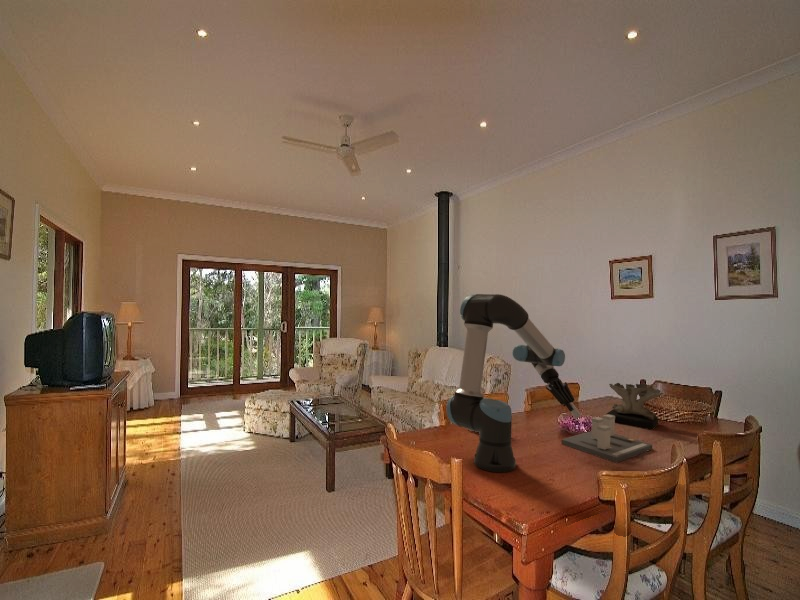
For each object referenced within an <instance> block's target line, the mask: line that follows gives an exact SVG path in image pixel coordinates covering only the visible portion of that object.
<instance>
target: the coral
mask: <svg viewBox="0 0 800 600" xmlns="http://www.w3.org/2000/svg"><path fill="white" fill-rule="evenodd" d="M609 387H610V389H611V390H612V391H614V392H615V393H616V394H617V395H618V396H619V397H620V398H621V399H622V400H621V404H617V403H615V404H613V405H612V409H611V410H610V411H609V412H607V413H606V414H605V415H607V414H609V415H614V416H615V424H619V425H622V426H623V425H624V426H631V427H635V428H639V427H641V428H640V429H645V428H648V429H647V430H650V429H653V428H654V427H655V426H656V425H657V424H658V425H659V417H658V416H657V413H654V412H653V411H651V410H650V409H649V408H648V407H644V404H645V403H646V402H647V401H650V400H652V399H655V398H658V397H661V396H662V395H664V393H663V392H661V389H659V388H657V389H655V388H653V386H652V385H650V386H647V384H646V383H639V384H638V383H636V384H634V385H633V384H631V383H630V384H628V383H626V384H625V386H624V384H621V383H620V382H617V383H614V384H613V383H609ZM638 396H639V398H638ZM658 425H657V426H658ZM657 426H656V427H657ZM656 427H655V428H656ZM655 428H654V429H655ZM654 429H653V430H654Z"/></svg>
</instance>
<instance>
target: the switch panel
mask: <svg viewBox="0 0 800 600" xmlns="http://www.w3.org/2000/svg"><path fill="white" fill-rule="evenodd" d="M560 442H561V445H564V446H566V447H569V448H571V449H576V450H579V451H580V452H583V453H586V452H588V453H587V454H589V453H591V454H590V455H592V454H594V455H593V456H595V455H597V456H596V457H598V456H600V457H599V458H601V457H602V459H604V458H605V459H604V460H607V459H608V460H607V461H610V460H611V461H610V462H613V461H614V462H613V463H616V462H617V463H619V461H620V462H622V461H624V460H628V459H630V458H633V457H635V456H638V454H639V455H641V454H644V453H646V452H645V451H647V450H649V451H651V450H650V449H652V450H653V443H648V442H645V441H641V440H639V439H638V440H637V439H634V438H630V437H627V436H624V435H619V434H616V433H615V435H613V436H610V448H609V449H606V450H604V449H600V448H597V444H598V440H596V439H593V438H592V430H590V431H587V432H582V433H579V434H576V435H572V436H569V437H565V438H561V441H560ZM643 452H644V453H643ZM647 452H648V451H647ZM640 453H641V454H640Z"/></svg>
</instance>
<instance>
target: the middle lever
mask: <svg viewBox="0 0 800 600" xmlns="http://www.w3.org/2000/svg"><path fill="white" fill-rule="evenodd" d="M590 421H591V431H592V438H593V439H596V440H598V429H597V426H601V425H604V419H603V417H600V416H596V417H591V420H590Z"/></svg>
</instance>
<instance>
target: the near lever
mask: <svg viewBox="0 0 800 600" xmlns="http://www.w3.org/2000/svg"><path fill="white" fill-rule="evenodd" d="M597 429H598V444H597V448H600V449H604V450H606V449H609V448H610V430H611V427H609V426H606V425H601V426H597Z"/></svg>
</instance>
